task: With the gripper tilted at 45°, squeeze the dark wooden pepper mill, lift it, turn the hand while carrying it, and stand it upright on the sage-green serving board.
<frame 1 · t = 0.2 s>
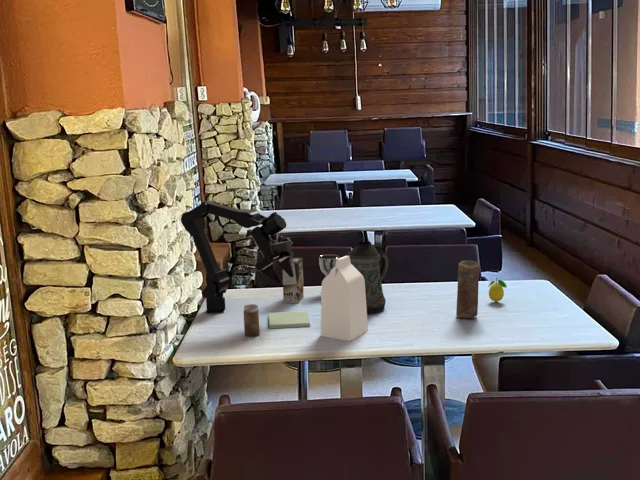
hand: (286, 279, 253), 15 cm above the table, tool tilted 35°, fingers open, 9 cm apart
coffee box: (293, 300, 281), on the table
candle: (467, 317, 253), on the table
milk: (344, 333, 240), on the table
lemon: (496, 303, 270), on the table
beer stein: (364, 308, 268), on the table
serving board: (289, 321, 254), on the table
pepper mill: (252, 334, 241), on the table
wine glass: (329, 293, 290), on the table
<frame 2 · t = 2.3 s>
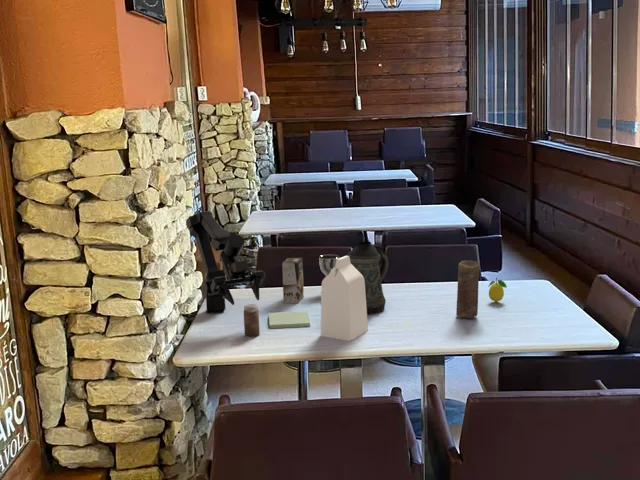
hand: (246, 301, 242), 11 cm above the table, tool tilted 45°, fingers open, 9 cm apart
nothing on the table moved.
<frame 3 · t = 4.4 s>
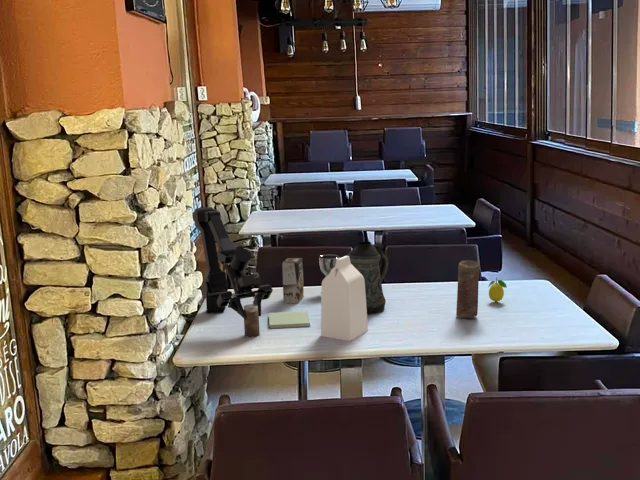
hand: (253, 317, 238), 7 cm above the table, tool tilted 45°, fingers closed on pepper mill, 5 cm apart
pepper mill: (252, 334, 241), on the table, touching gripper
everything else where it was.
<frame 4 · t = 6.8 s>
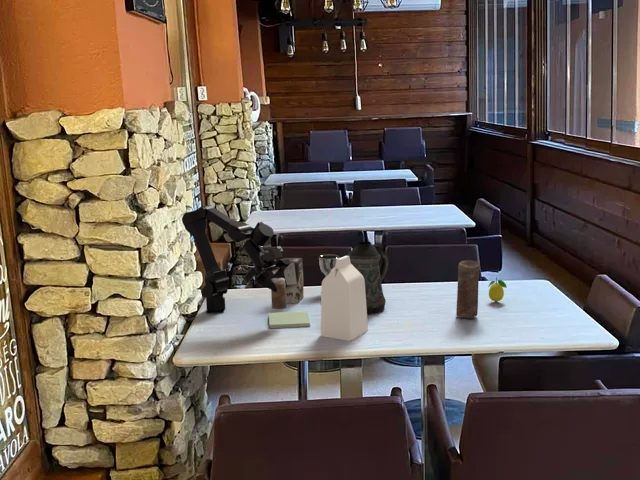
hand: (281, 289, 246), 13 cm above the table, tool tilted 45°, fingers closed on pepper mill, 5 cm apart
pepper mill: (279, 307, 248), point 7 cm above the table, touching gripper
everything else where it was.
when the fingers open (9 cm above the table, at t = 9.2 s): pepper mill drops 1 cm, resting on serving board.
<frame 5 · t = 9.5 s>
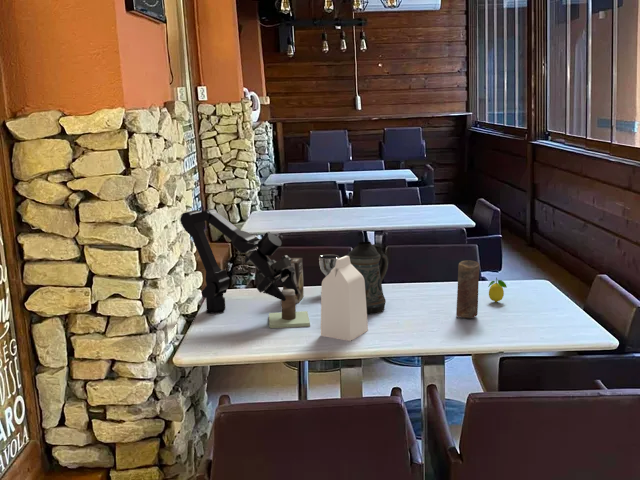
hand: (291, 297, 252), 9 cm above the table, tool tilted 45°, fingers open, 9 cm apart
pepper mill: (288, 317, 254), point 1 cm above the table, touching serving board
everything else where it was.
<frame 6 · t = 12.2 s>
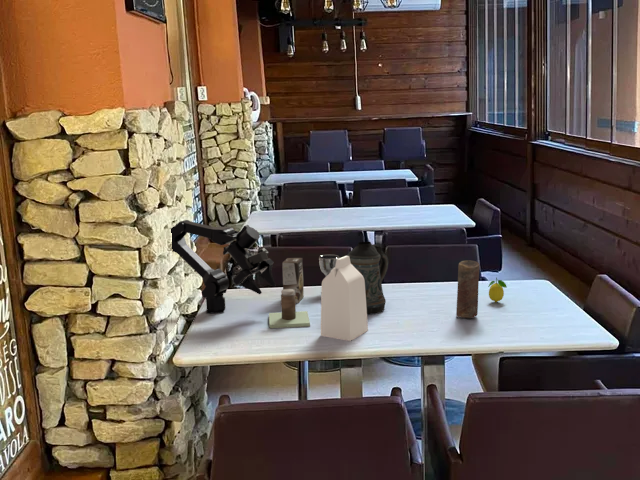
hand: (268, 289, 256), 11 cm above the table, tool tilted 45°, fingers open, 9 cm apart
nothing on the table moved.
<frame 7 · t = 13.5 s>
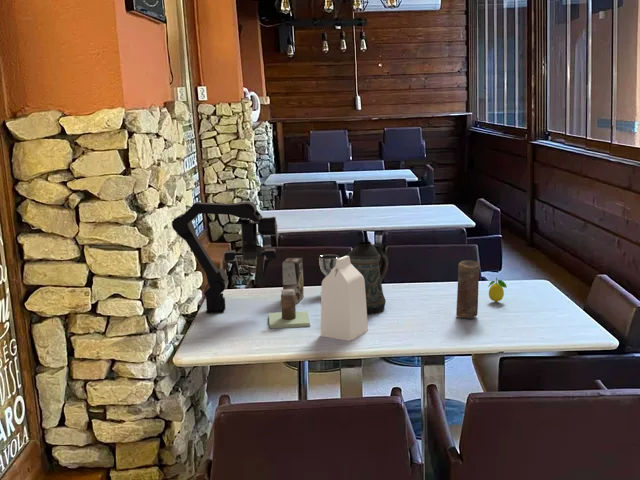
hand: (251, 277, 265), 13 cm above the table, tool pointing down, fingers open, 9 cm apart
nothing on the table moved.
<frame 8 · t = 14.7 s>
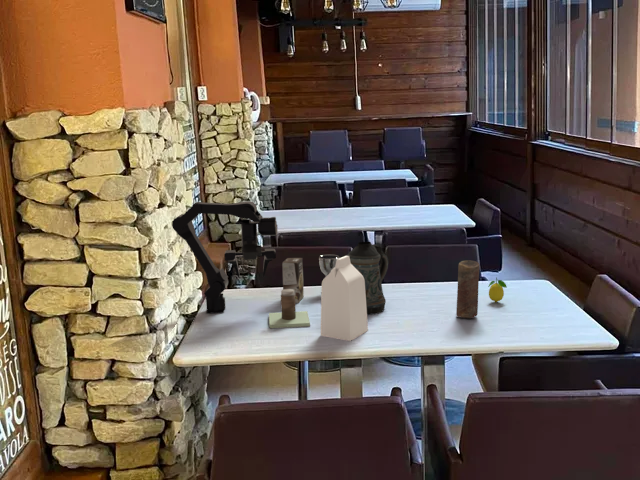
hand: (251, 277, 265), 13 cm above the table, tool pointing down, fingers open, 9 cm apart
nothing on the table moved.
at the end: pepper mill inside the target area on the serving board (0.1 cm from its centre), point 1.2 cm above the serving board's base; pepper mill tilted 0°; the gripper is holding nothing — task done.
